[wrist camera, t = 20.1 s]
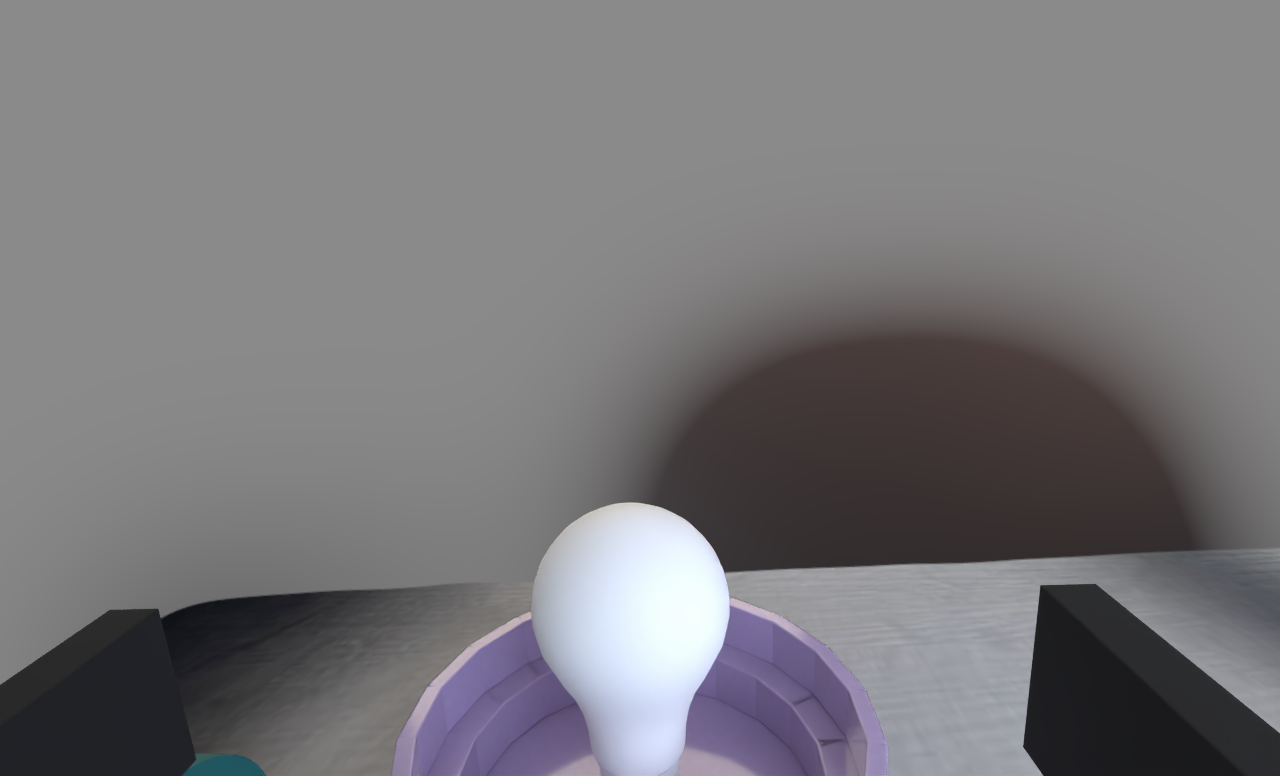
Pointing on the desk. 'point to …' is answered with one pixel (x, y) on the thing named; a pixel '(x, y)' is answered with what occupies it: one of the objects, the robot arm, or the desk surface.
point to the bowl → (716, 723)
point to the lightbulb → (631, 629)
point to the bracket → (223, 766)
